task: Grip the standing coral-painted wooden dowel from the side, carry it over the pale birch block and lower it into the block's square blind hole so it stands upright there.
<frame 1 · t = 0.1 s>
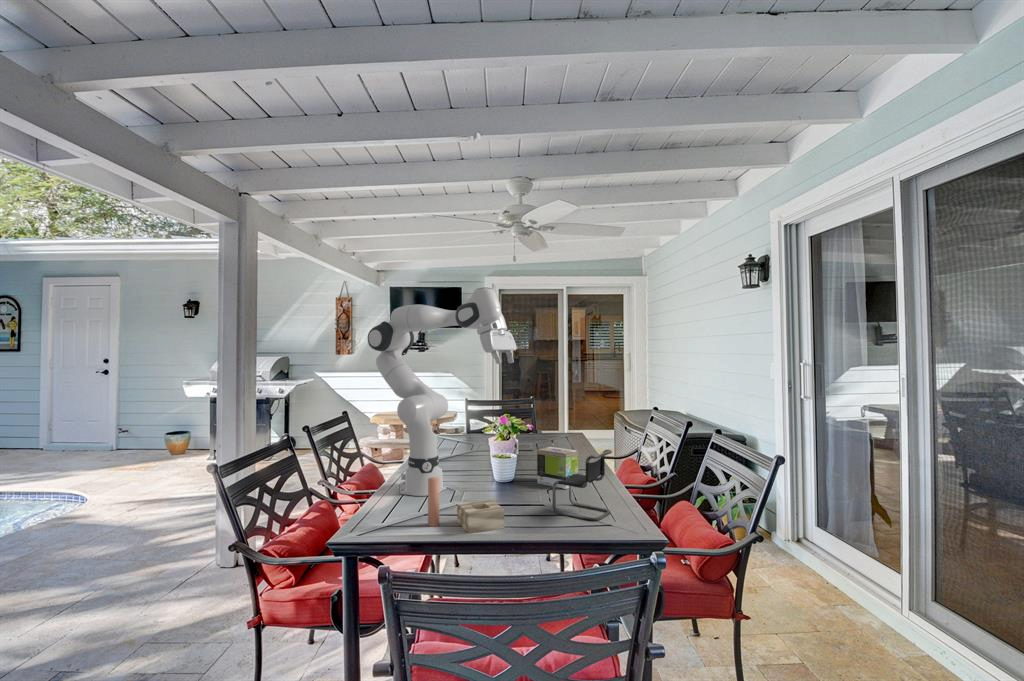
hand: (505, 363, 191), 52 cm above the table, fingers open, 8 cm apart
tea box: (557, 484, 219), on the table
chair: (582, 513, 181), on the table
socket block: (480, 524, 168), on the table
dowel: (433, 524, 168), on the table
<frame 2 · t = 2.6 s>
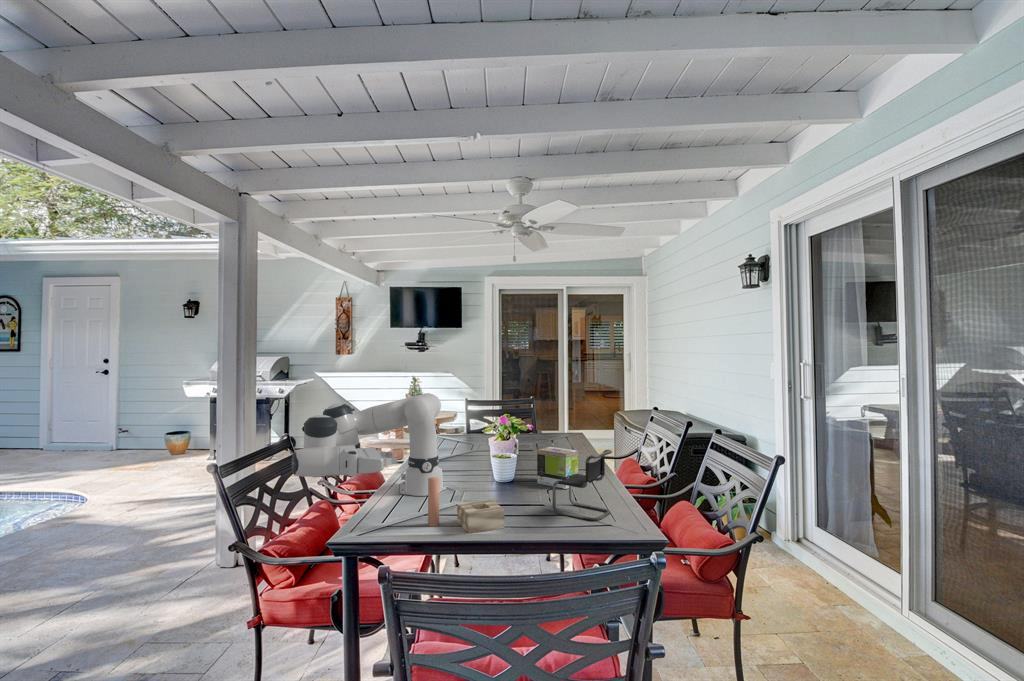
hand: (394, 457, 164), 23 cm above the table, fingers open, 8 cm apart
nothing on the table moved.
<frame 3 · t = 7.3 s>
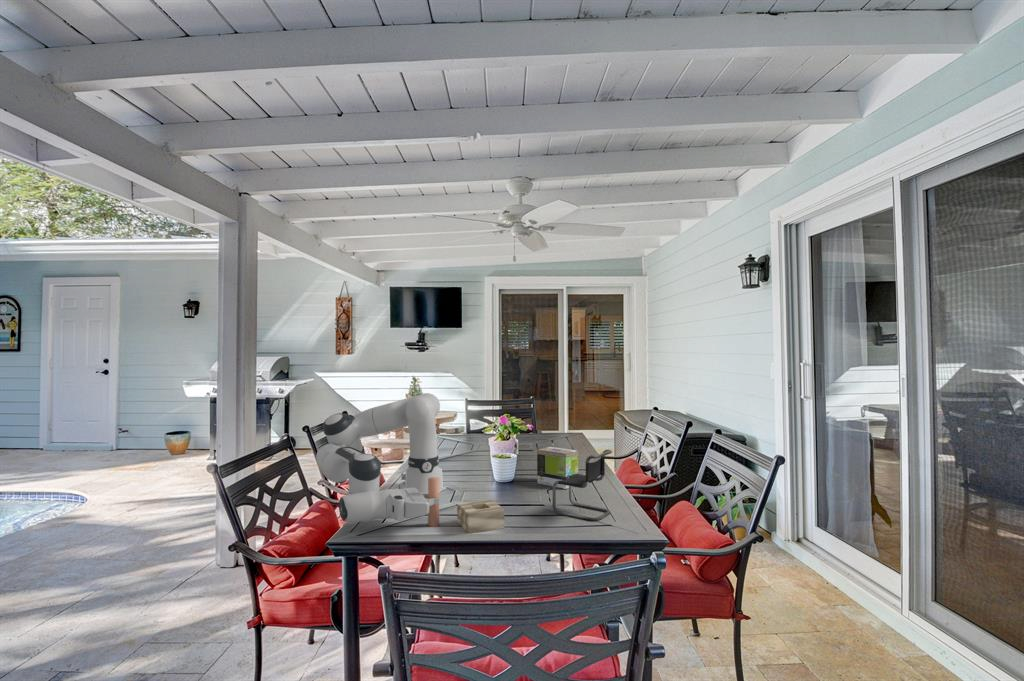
hand: (436, 498, 169), 9 cm above the table, fingers closed on dowel, 4 cm apart
dowel: (433, 524, 168), on the table, touching gripper
everything else where it was.
when the fingers open (11 cm above the table, at t = 12.0 s): dowel drops 1 cm, resting on socket block.
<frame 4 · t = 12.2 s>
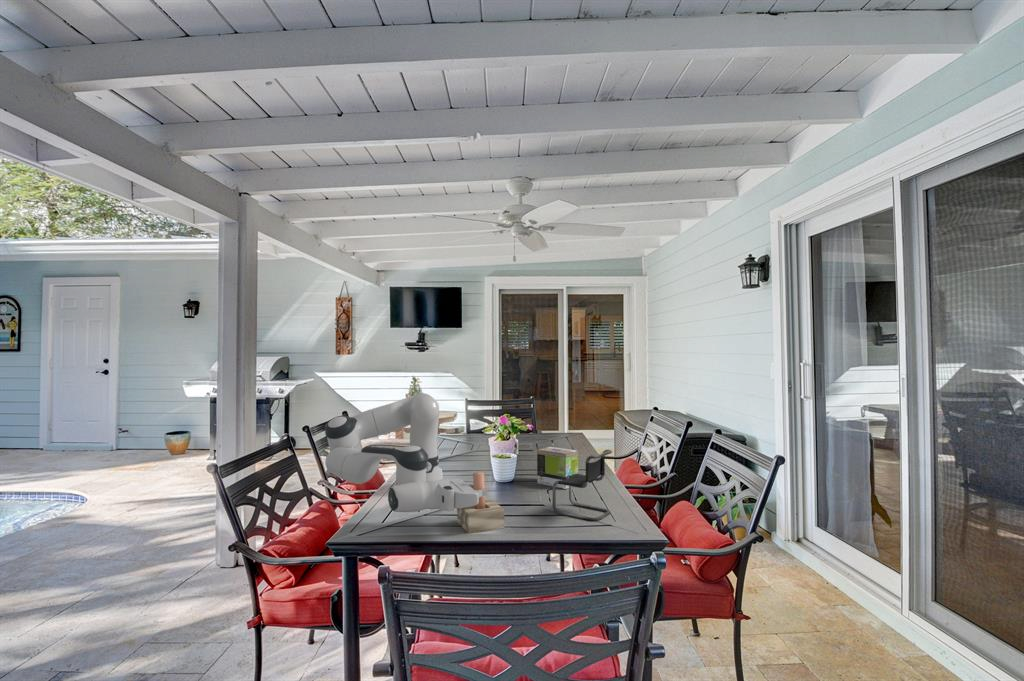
hand: (482, 489, 169), 11 cm above the table, fingers open, 5 cm apart
dowel: (480, 519, 168), point 2 cm above the table, touching socket block
everything else where it was.
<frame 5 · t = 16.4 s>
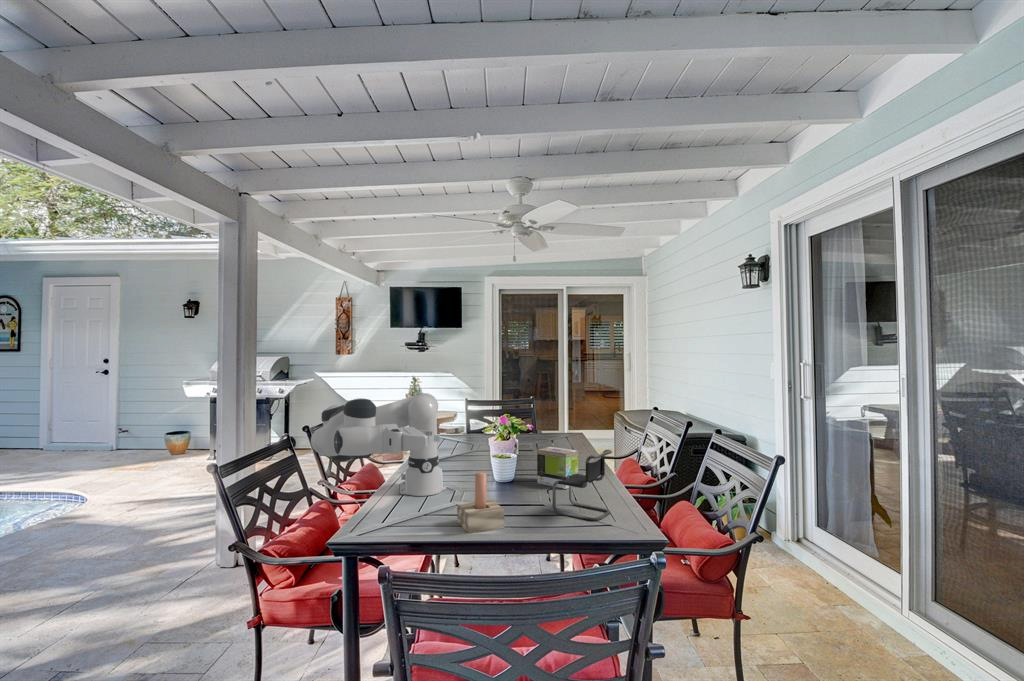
hand: (435, 435, 163), 30 cm above the table, fingers open, 8 cm apart
nothing on the table moved.
at the end: dowel 0.1 cm off-centre on the socket block, point 1.7 cm above the socket block's base; dowel tilted 2°; the gripper is holding nothing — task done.
